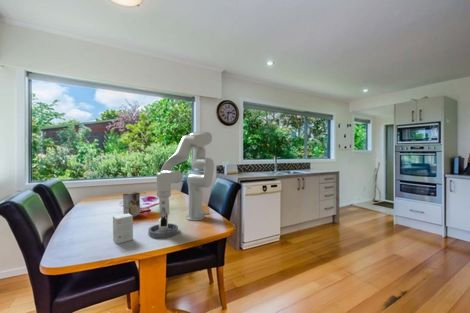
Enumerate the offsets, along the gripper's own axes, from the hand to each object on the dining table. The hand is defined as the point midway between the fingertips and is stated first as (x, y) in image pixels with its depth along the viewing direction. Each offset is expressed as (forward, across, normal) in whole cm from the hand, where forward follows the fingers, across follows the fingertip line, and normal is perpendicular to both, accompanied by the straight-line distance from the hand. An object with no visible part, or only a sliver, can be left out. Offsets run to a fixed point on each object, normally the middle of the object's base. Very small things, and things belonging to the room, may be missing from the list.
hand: (164, 223), depth 130 cm
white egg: (+5, 0, 0) cm, 5 cm away
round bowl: (+6, -1, 0) cm, 6 cm away
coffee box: (+6, +39, +24) cm, 47 cm away
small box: (+5, -7, +20) cm, 22 cm away
